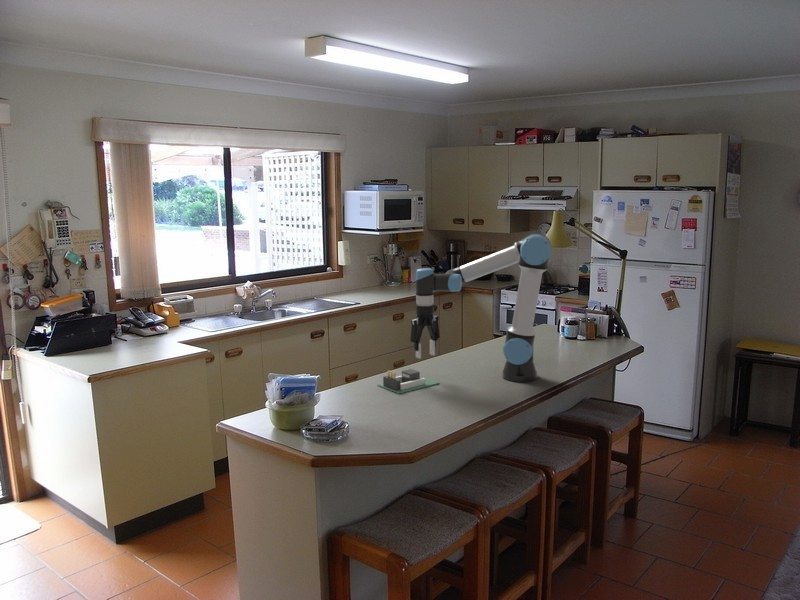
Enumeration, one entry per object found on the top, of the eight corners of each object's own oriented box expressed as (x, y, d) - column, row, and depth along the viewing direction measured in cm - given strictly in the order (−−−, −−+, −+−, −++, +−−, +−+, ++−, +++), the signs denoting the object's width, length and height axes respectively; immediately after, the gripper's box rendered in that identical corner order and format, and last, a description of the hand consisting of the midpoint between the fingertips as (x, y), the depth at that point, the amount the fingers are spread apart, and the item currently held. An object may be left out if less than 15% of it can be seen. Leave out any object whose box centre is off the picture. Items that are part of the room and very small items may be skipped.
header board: (439, 383, 288) (439, 366, 287) (398, 394, 275) (398, 376, 274) (417, 376, 300) (417, 360, 299) (377, 385, 287) (377, 368, 285)
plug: (419, 383, 288) (419, 371, 287) (410, 385, 285) (410, 374, 284) (411, 380, 292) (410, 369, 292) (401, 382, 289) (401, 371, 288)
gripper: (436, 300, 296) (437, 351, 300) (400, 306, 284) (401, 358, 288) (448, 302, 290) (448, 354, 294) (411, 308, 278) (412, 361, 282)
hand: (425, 356), depth 291 cm, fingers open, 7 cm apart
